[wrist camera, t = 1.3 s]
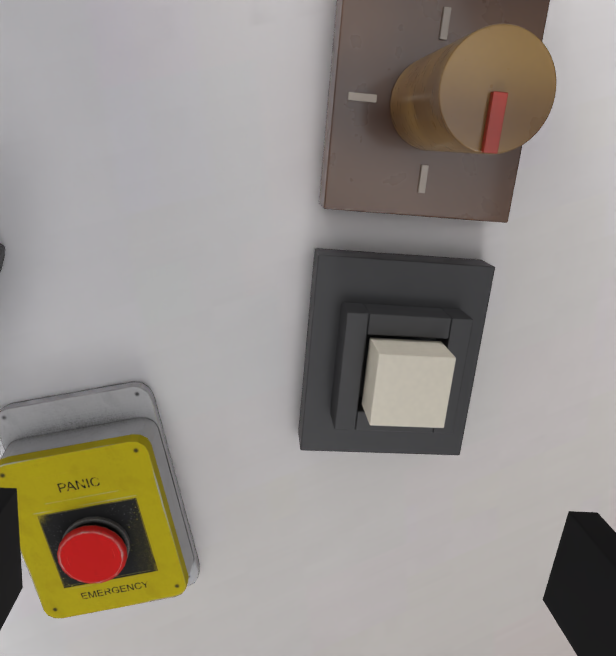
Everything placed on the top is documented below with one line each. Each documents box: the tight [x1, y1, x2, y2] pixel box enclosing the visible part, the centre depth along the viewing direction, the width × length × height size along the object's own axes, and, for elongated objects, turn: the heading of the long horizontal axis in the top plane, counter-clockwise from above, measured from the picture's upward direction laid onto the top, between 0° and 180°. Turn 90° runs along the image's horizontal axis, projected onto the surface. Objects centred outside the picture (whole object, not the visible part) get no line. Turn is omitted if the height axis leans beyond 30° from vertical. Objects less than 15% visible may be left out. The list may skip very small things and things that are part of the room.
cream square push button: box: [362, 338, 456, 428], centre depth 30 cm, size 4×4×3 cm
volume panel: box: [319, 0, 550, 223], centre depth 29 cm, size 11×10×3 cm
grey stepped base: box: [298, 248, 495, 455], centre depth 33 cm, size 12×10×4 cm
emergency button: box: [0, 382, 199, 618], centre depth 34 cm, size 9×4×15 cm
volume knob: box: [390, 24, 556, 154], centre depth 24 cm, size 4×4×8 cm
